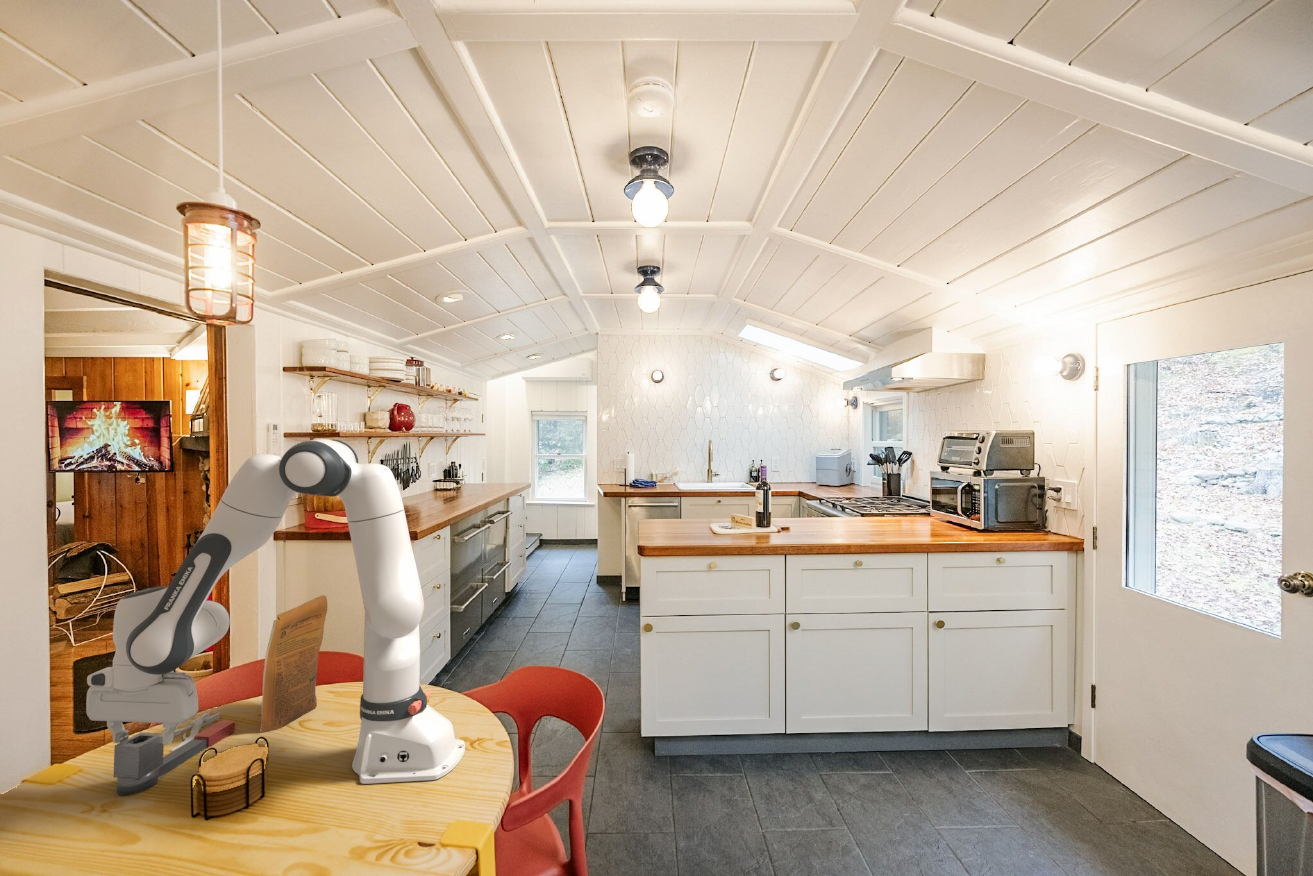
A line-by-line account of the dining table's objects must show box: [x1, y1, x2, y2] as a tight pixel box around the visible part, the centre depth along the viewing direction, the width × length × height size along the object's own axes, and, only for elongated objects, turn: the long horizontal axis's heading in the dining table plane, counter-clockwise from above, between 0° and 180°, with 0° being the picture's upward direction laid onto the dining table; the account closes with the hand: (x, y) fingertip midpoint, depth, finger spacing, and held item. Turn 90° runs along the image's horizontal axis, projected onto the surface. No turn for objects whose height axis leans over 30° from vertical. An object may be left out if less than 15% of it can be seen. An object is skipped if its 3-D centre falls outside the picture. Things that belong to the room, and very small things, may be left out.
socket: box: [113, 732, 165, 779], centre depth 108 cm, size 5×5×6 cm
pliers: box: [169, 711, 221, 753], centre depth 128 cm, size 10×2×15 cm
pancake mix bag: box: [259, 594, 328, 733], centre depth 137 cm, size 7×19×28 cm, turn 169°
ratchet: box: [116, 720, 236, 797], centre depth 117 cm, size 6×24×8 cm, turn 176°
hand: (143, 742), depth 109 cm, fingers open, 8 cm apart
